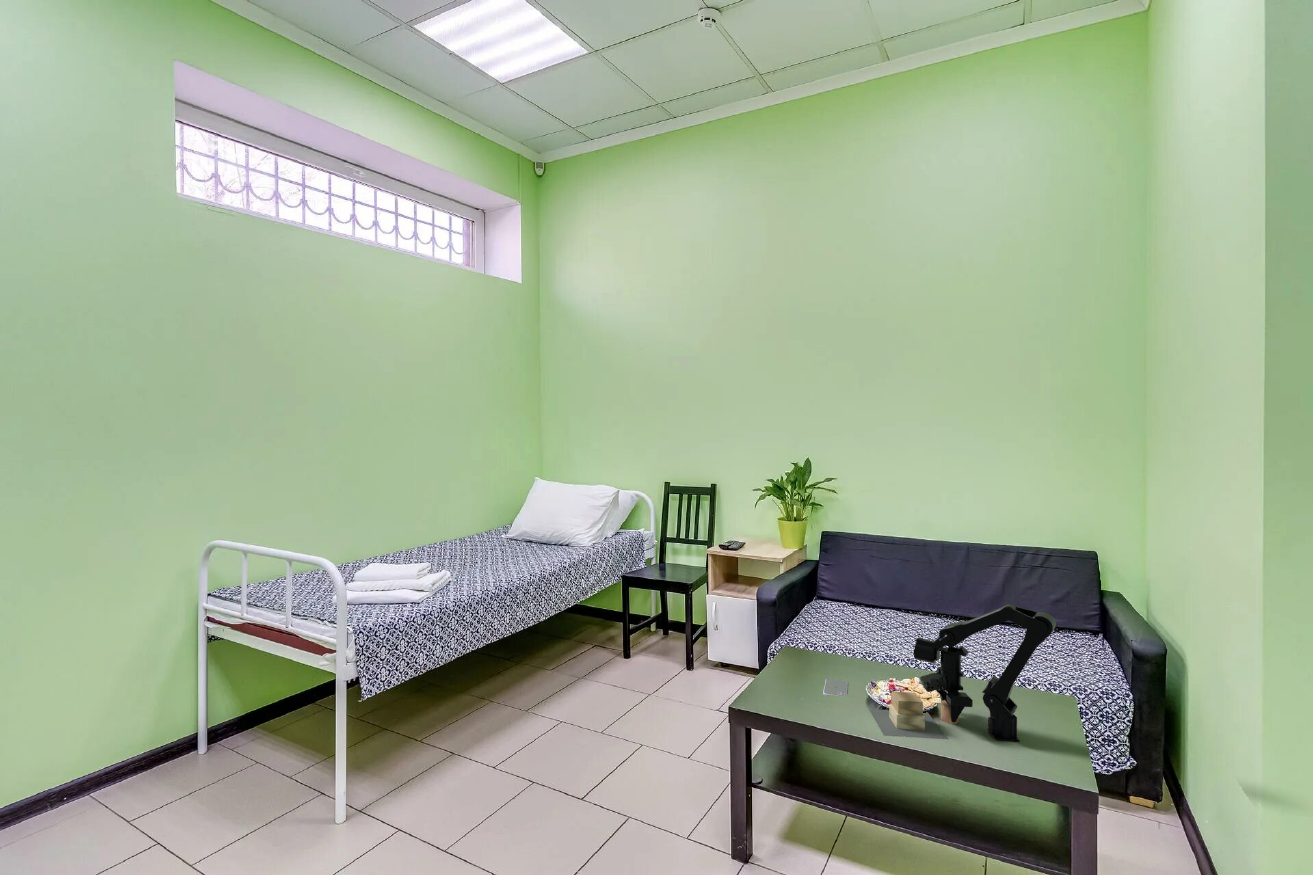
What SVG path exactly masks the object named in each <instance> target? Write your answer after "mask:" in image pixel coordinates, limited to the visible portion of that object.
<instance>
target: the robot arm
mask: <svg viewBox="0 0 1313 875" xmlns="http://www.w3.org/2000/svg"><path fill="white" fill-rule="evenodd" d="M1005 622H1011V623H1014V624H1016V625H1018V626H1020V627H1021V628H1023V629H1025V634H1024V637H1023V640H1022V642H1021V644H1020V645H1019V646H1018V648H1017V649H1016V651H1015V653H1014V654H1013V656H1012V657H1011V659H1010V661H1009V662H1008V664H1007V666H1006V667H1005V669H1004V670H1003V672H1002V674H1001V675H1000V676H999V677H998V678H997V677H996V676H995V675H992V677H991V678H990V679H989V680H988V683H987V684H986V686H985V687H984V688H983V690H982V692H981V693H982V694H983V695H982V701H983V704H984V705H985V706H986V708H987V709H988V710H989V716H988V718H987V728H986V729H987V730H986V731H987V732H988V733H989V734H990V735H991V736H992V737H993V738H994V740H997V741H1007V742H1009V741H1010V742H1020V741H1021V740H1020V738H1019V737H1018V717H1017V716H1016V715H1015V713H1016V711H1017V709H1018V705H1017V703H1015V701H1013V699H1012V698H1011V694H1012V691H1013V688H1014V684H1015V683H1016V681H1017V679H1018V677H1019V676H1020V674H1021V673H1022V671H1023V670H1024V668H1025V667H1026V665H1027V664H1028V662H1029V660H1030V659H1031V657H1032V655H1033V654H1034V652H1035V650H1036V649H1037V648H1038V647H1039V646H1040V645H1042V643H1043V642H1044V641H1046V639H1048V637H1049V636H1050V635H1051V634H1052V633H1053V632H1054V630H1055V628H1056V626H1057V623H1056V622H1057V621H1056V619H1055V617H1054V616H1053V615H1051V614H1050V613H1048V612H1046V611H1035V610H1032V609H1028V608H1024V607H1019V606H1017V605H1014V604H1012V603H1008V604H1007V603H1006V604H1005V605H1004V606H1002V607H999V608H997V609H994V610H991V611H989V612H987V613H984V614H982V615H980V616H976V617H975V618H972V619H970V620H966V621H965V620H964V621H957V622H953V623H948V624H947V625H945V626H944V627H943V628H942V629H940V631H939V633H938V638H936V639H935V640H932V639H931V640H929V639H925V638H923V637H917V638H916V640H915V644H914V649H913V659H914V660H916V661H921V662H926V663H930V664H935V663H936V661H937V662H939V661H940V663H939V664H940V665H939V666H938V667H937V668H936V672H931V673H928V674H925V675H921V676H920V677H919V678H920V682H921V685H922V687H923V689H924V690H925V691H926V692H927V693H931V692H934V691H936V692H937V694H939V695H940V696H939V697H940V701H943V700H945V701H946V702H947V703H948V704H949V710H950V717H951V721H952V722H956V720H957V719H958V717H959V718H960V715H961V714H962V712H963V711H964V709H965V708H972V707H973V705H974V704H973V699H972V698H971V697H970V696H969V695H968V694H967V692H961V691H964V686H963V685H962V678H964V673H963V671H962V657H967V656H968V655H969V651H968V650H967V649H966V648H965V647H964V645H961V646H960V647H956V646H957V645H959V644H961V643H962V642H964V641H965V640H967V639H968V638H970V637H971V636H973V635H974V634H977V633H980V632H982V631H986V630H987V629H990V628H993V627H995V626H997V625H1000V624H1002V623H1005Z"/></svg>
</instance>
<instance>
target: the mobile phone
mask: <svg viewBox="0 0 1313 875" xmlns="http://www.w3.org/2000/svg"><path fill="white" fill-rule="evenodd" d="M848 685H849V681H847V680H841V679H835V678H826V679H825V682H824V687H823V692H822V693H823V695H824V696H828V695H832V696H837V697H846V696H847V695H848Z"/></svg>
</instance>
